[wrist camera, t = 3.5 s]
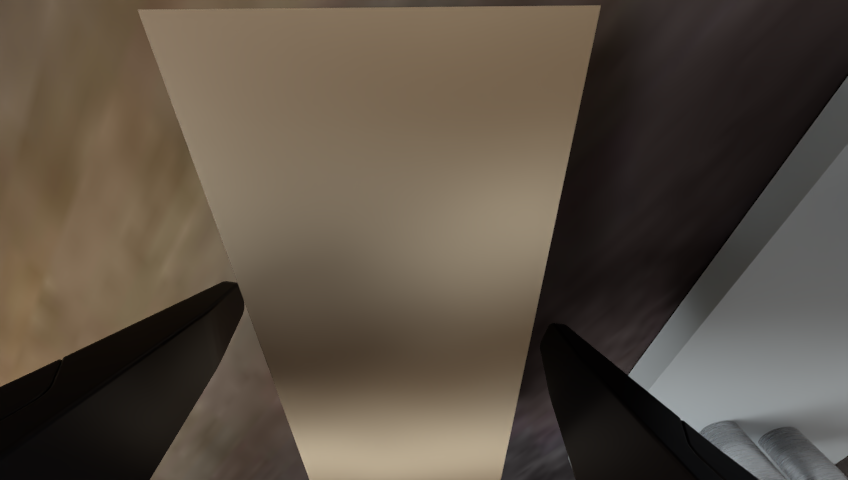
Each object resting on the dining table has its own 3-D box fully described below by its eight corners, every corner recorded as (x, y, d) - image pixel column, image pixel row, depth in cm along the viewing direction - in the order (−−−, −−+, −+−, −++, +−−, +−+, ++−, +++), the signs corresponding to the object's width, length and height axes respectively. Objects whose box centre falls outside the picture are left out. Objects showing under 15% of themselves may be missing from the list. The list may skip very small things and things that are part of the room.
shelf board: (476, 398, 14) (495, 505, 11) (344, 401, 14) (320, 510, 11) (516, 31, 8) (601, 5, 4) (266, 34, 8) (137, 9, 4)
